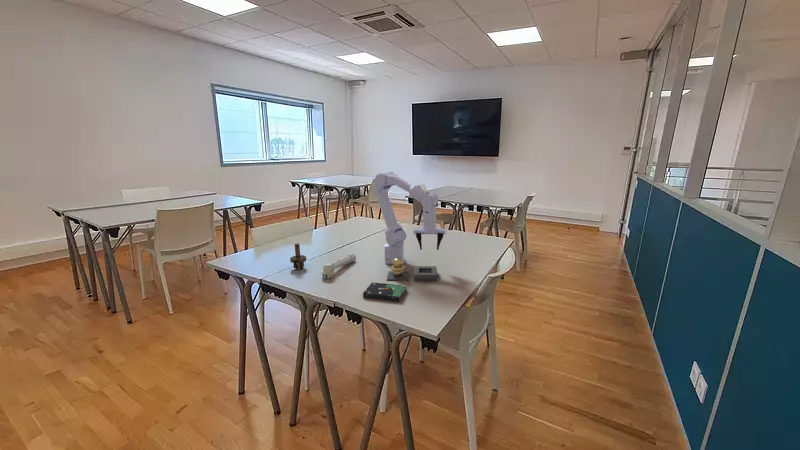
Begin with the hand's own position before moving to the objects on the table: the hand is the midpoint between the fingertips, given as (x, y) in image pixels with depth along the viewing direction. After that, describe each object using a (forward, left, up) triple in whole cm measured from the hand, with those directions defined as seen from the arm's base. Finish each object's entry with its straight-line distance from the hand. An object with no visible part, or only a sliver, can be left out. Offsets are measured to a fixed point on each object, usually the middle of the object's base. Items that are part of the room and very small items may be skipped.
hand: (429, 249), depth 149 cm
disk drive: (-18, -28, -10) cm, 34 cm away
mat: (-14, -10, -9) cm, 20 cm away
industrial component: (-62, 0, -10) cm, 62 cm away
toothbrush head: (-42, -2, -10) cm, 43 cm away
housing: (-2, -10, -9) cm, 14 cm away
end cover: (-14, -10, -9) cm, 19 cm away
